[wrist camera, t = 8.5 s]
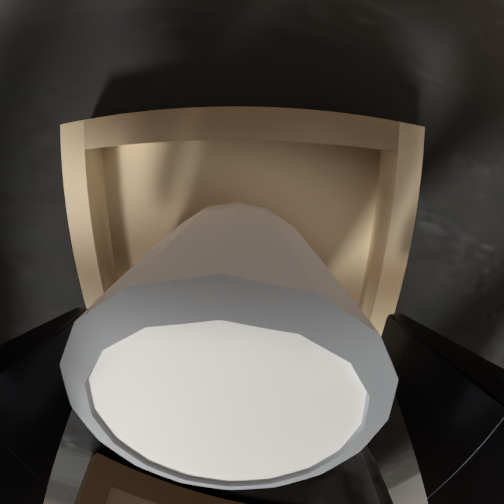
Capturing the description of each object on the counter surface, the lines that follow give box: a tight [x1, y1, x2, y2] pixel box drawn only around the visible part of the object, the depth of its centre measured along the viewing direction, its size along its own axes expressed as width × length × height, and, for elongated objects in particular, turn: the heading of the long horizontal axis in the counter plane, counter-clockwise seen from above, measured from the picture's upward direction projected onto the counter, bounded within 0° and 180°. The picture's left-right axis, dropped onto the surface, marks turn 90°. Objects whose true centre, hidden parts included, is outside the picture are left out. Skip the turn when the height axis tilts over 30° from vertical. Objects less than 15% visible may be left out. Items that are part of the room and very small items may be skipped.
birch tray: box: [60, 106, 425, 336], centre depth 11 cm, size 12×12×2 cm
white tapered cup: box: [60, 202, 399, 490], centre depth 8 cm, size 7×7×7 cm
